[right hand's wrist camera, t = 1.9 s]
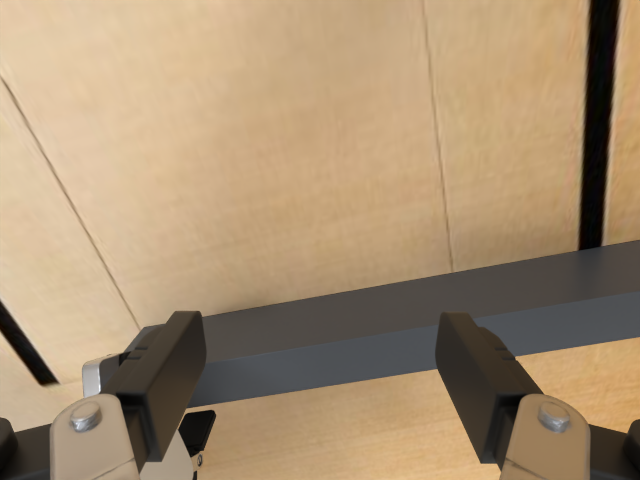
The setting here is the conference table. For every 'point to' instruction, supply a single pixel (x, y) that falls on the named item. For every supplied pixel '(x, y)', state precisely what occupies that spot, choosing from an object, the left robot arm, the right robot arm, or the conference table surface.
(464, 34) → the conference table surface
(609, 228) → the conference table surface
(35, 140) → the conference table surface
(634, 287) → the post
